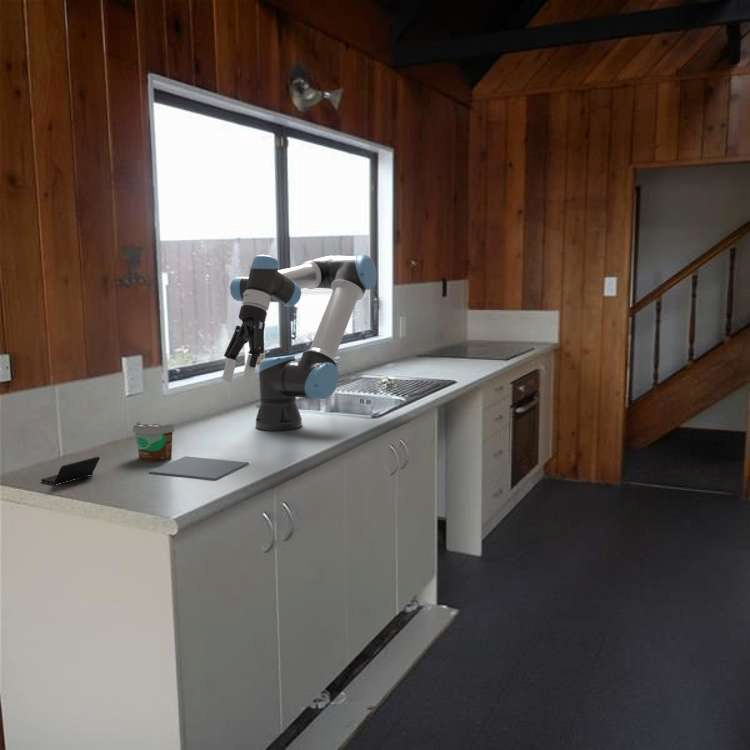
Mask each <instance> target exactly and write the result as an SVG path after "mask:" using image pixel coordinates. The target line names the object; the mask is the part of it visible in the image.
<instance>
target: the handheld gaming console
mask: <svg viewBox="0 0 750 750" xmlns="http://www.w3.org/2000/svg"><path fill="white" fill-rule="evenodd" d="M100 459H101V457H100V456H96V457H92V458H88V459H84V460H83V459H82V460H80V461H76V462H73V463H69V464H65V465H61V467H60V469H59V471H58V473H57V474H56V475H52V476H51V475H50V476H48V477H44V478H41V479H40V480H41V481H42V482H47V483H51V484H55V485H56V484H59V483H63V482H66V481H70V480H73V479H77V480H79V479H78V478H81V477H84V478H86V477H85V476H88V475H91V476H93V475H94V471H95V469H96V467H97V465H98V463H99V461H100ZM92 474H93V475H92ZM88 477H89V476H88ZM81 479H82V478H81ZM42 482H41V483H42ZM70 482H71V481H70ZM66 483H67V482H66ZM51 484H50V485H51ZM63 484H64V483H63ZM55 485H54V486H55ZM56 486H57V485H56Z"/></svg>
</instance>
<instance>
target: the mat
mask: <svg viewBox="0 0 750 750" xmlns="http://www.w3.org/2000/svg"><path fill="white" fill-rule="evenodd" d="M247 464H248V465H249V464H250V463H249V462H248V461H239V460H238V461H237V460H230V459H229V460H228V459H218V458H217V459H215V458H206V457H196V456H187V455H186V456H182V457H180V458H177V459H176V460H173V461H171V462H168V463H165V464H163V465H161V466H158V467H156V468H154V469H151V470H149V471H148V474H153V475H160V476H161V475H163V476H172V477H181V478H189V479H190V478H191V479H199V480H208V481H209V480H210V481H217V480H220V479H222V478H224V477H225V475H226V476H228V475H230V474H232V473H234V472H236V471H237V469H238V470H240V469H242V468H244V467H245V465H246V466H248V465H247ZM243 466H244V467H243ZM241 467H242V468H241ZM239 468H240V469H239ZM235 470H236V471H235ZM233 471H234V472H233ZM231 472H232V473H231ZM229 473H230V474H229ZM227 474H228V475H227ZM223 476H224V477H223ZM221 477H222V478H221ZM219 478H220V479H219Z"/></svg>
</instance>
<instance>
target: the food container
mask: <svg viewBox="0 0 750 750" xmlns="http://www.w3.org/2000/svg"><path fill="white" fill-rule="evenodd" d="M132 432H133V434H135V439H136V446H137V452H138V458H139V461H141V462H145V463H157V462H159V463H160V462H164V461H165V462H166V461H169V460H172V453H173V432H175V429H174V425H173V423H170V424H166V425H164V424H163V425H160V424H155V423H153V424H142V423H140V420H137V421H136V422H134V425H133V427H132Z"/></svg>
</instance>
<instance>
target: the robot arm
mask: <svg viewBox="0 0 750 750" xmlns="http://www.w3.org/2000/svg"><path fill="white" fill-rule="evenodd" d="M251 262H252V263H251V265H250V267H249V273H248V276H237V277H234V278H233V280H232V281H231V283H230V285H229V291H230V295H231V297H232V298H233V300H235V301H237V302H241V303H242V305H241V306H240V309H239V313H238V319H239V320H240V321H241V322H242V323H241V325H236V326H235V328H234V333H233V335H232V337H231V339H230V341H229V343H228V345H227V348H226V350H225V352H224V354H223V356H224V357H225V359H226V361H225V364H224V365H225V366H224V369H223V372H222V373H223V374H222V378H221V381H224V382H227V383H232V381H233V377H234V372H235V368H236V364H237V362H238V359H237V358H238V356H239V354H240V352H241V350H242V349H243V348H244V346H245V344H247V343H248V346H249V350H248V354H247V359H246V361H245V362H246V363H245V366H244V367H245V368H244V370H243V373H242V374H243V375H242V378H243V379H247V380H249V381H253V380H254V378H255V377H254V376H255V372H256V368H257V364H258V360H259V357H260V356H261V355H263V354H264V353H265V328H266V319H267V315H268V312H267V311H268V310H269V307H270V303H279V304H280V305H281V306H285V307H287V308H290V307H293V306H295V305H297V303H299V301H300V299H301V296H302V289H308V290H315V289H327V290H328V289H331V290H332V293H331V295H330V297H329V300H328V303H327V306H326V308H325V310H324V313H323V315H322V317H321V320H320V323H319V325H318V327H317V330H316V333H315V335H314V337H313V340H312V342H311V345H310V346H309V349H307V350H305V351H303V352H302V355H301V357H300V359H299V360H296V357H295V356H294V355H291V354H290V355H282V356H275V357H267V358H263V359H261V360H260V361H259V369H258V375H259V376H258V377H259V398H260V404H259V407H258V412H257V415H256V419H255V428H256V429H259V430H262V431H287V430H289V431H290V430H295V429H299V428H300V427H301V426H302V425H303V422H302V421H303V419H302V415H301V413H300V410H299V407H298V403H297V398H304V399H310V400H324V399H328V398H330V397H331V396H332V395H333V394H334V392H335V391H336V389H337V387H338V385H339V381H340V379H339V377H340V372H339V369H338V367H337V362H336V360H335V358H336V356H337V353H338V351H339V348H340V345H341V342H342V340H343V337H344V335H345V332H346V329H347V328H348V327H347V326H348V325H349V322H350V320H351V316H352V314H353V311H354V309H355V306H356V303H357V301H360V300H362V299H363V298H364V296H365V292H366V291H367V290H368V291H370V290H373V288H375V286H376V284H377V280H378V279H377V278H378V274H377V273H378V272H377V267H376V264H375V262H374V260H373V259H372V258H371V257H370V256H369V255H367V254H359V253H357V254H354V255H353V254H347V255H346V254H336V255H335V254H331V255H326V256H321V257H318V258H315V259H312V260H311V259H310V260H305V261H303V262H302V263H301V265H299V266H298V265H297V266H294V267H293V266H292V267H289V268H283V269H280V267H279V266H280V262H279V261H278V259H277V258H275V257H273V256H271V255H267V254H257V255H255V256H254V257H253V259H252V261H251ZM301 428H302V427H301Z"/></svg>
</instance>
